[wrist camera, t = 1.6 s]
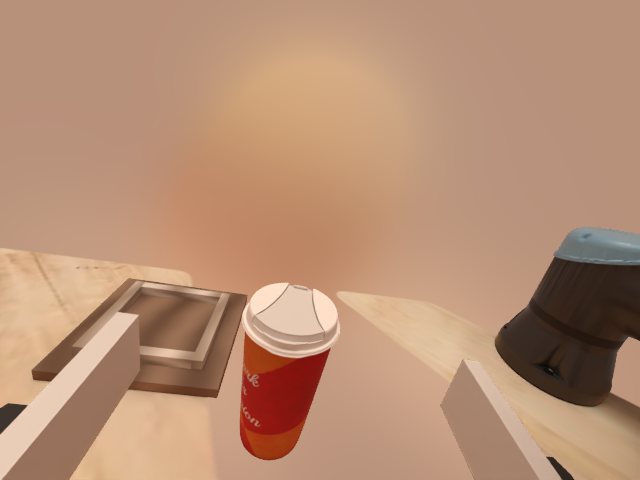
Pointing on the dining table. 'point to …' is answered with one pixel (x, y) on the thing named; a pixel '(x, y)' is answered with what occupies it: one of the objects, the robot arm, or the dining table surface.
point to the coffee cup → (282, 364)
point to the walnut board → (164, 336)
